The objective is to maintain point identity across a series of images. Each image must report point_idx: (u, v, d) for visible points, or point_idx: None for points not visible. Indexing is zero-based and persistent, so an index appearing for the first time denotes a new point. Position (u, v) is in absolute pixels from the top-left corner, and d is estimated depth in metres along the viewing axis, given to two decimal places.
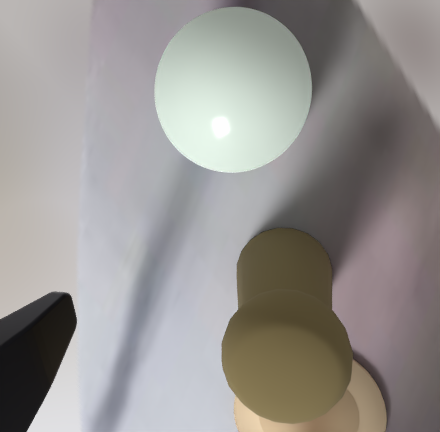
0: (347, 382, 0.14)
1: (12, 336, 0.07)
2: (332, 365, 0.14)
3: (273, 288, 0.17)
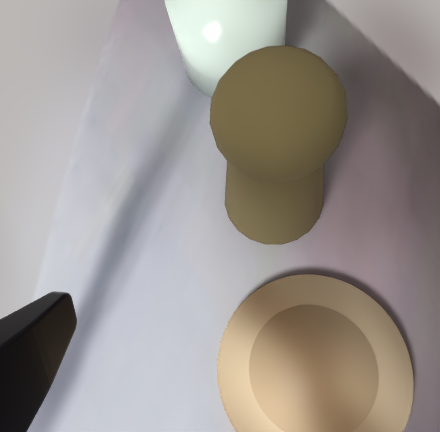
0: (342, 104, 0.14)
1: (12, 336, 0.07)
2: (324, 74, 0.13)
3: None
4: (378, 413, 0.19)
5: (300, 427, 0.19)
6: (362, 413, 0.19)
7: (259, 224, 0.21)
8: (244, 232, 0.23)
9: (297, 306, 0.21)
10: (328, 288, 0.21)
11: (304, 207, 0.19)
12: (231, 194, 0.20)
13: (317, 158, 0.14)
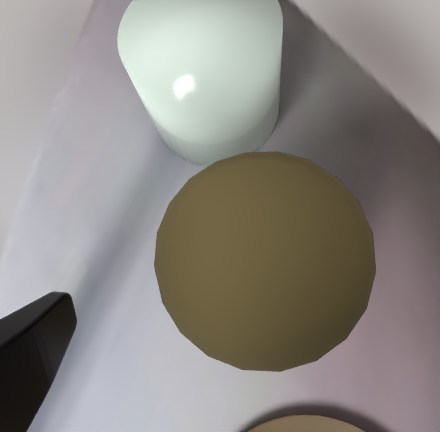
0: (370, 261, 0.08)
1: (12, 336, 0.07)
2: (339, 211, 0.08)
3: None
4: None
5: None
6: None
7: None
8: None
9: None
10: None
11: None
12: None
13: (328, 349, 0.08)
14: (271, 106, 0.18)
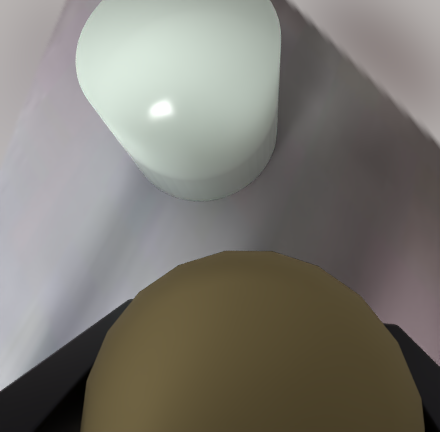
0: None
1: None
2: (372, 379, 0.05)
3: None
4: None
5: None
6: None
7: None
8: None
9: None
10: None
11: None
12: None
13: None
14: (267, 135, 0.15)
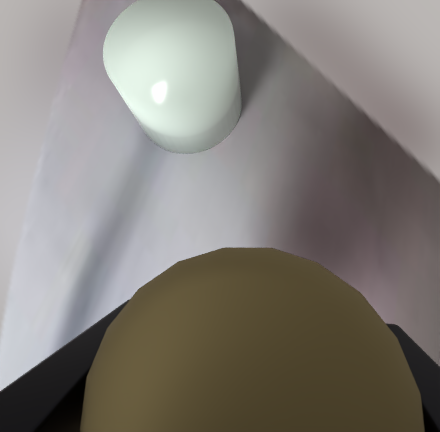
0: None
1: None
2: (371, 375, 0.05)
3: None
4: None
5: None
6: None
7: None
8: None
9: None
10: None
11: None
12: None
13: None
14: (232, 102, 0.23)
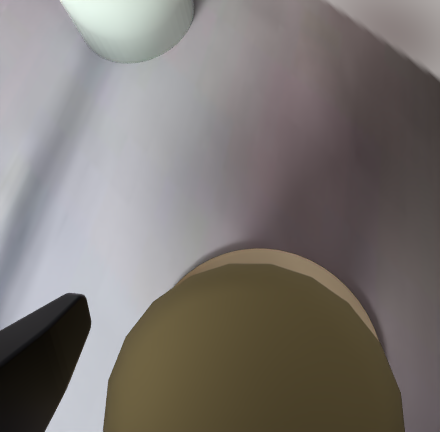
0: None
1: (30, 338, 0.07)
2: (357, 377, 0.06)
3: None
4: None
5: None
6: None
7: None
8: None
9: None
10: (269, 262, 0.17)
11: None
12: None
13: None
14: None
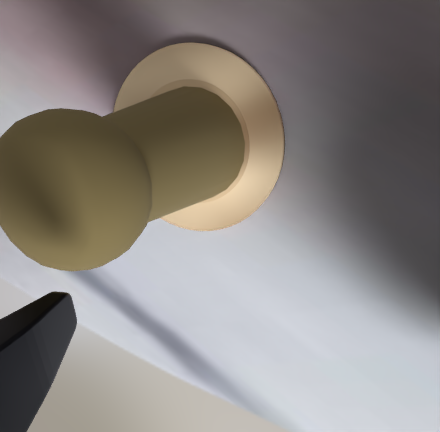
0: (67, 134, 0.11)
1: (12, 336, 0.07)
2: (25, 144, 0.11)
3: None
4: (236, 93, 0.19)
5: None
6: (233, 109, 0.19)
7: (208, 191, 0.18)
8: (216, 194, 0.21)
9: None
10: (125, 104, 0.21)
11: (203, 147, 0.16)
12: None
13: (127, 185, 0.11)
14: None
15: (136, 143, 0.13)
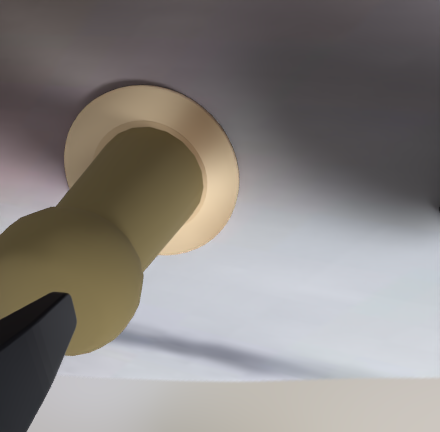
0: (37, 240, 0.11)
1: (12, 336, 0.07)
2: (5, 266, 0.11)
3: None
4: (165, 117, 0.20)
5: None
6: (169, 132, 0.20)
7: (184, 214, 0.19)
8: (193, 211, 0.21)
9: None
10: (75, 173, 0.22)
11: (159, 182, 0.17)
12: None
13: (108, 255, 0.12)
14: None
15: (99, 212, 0.14)
